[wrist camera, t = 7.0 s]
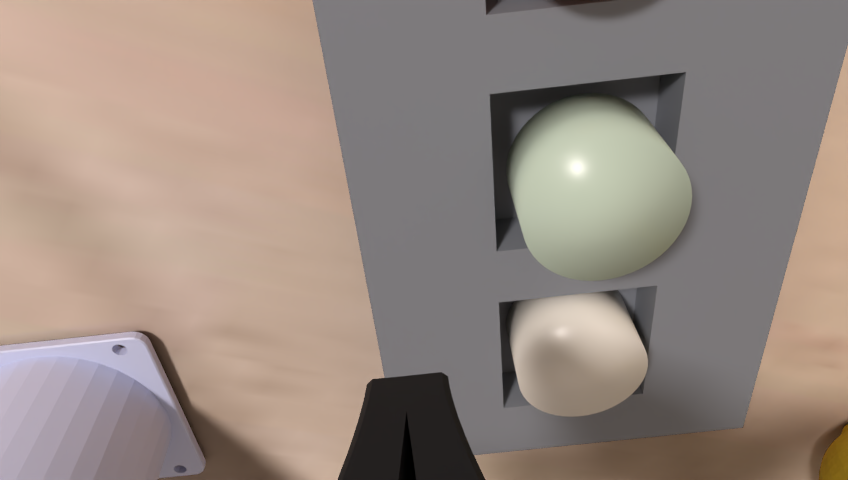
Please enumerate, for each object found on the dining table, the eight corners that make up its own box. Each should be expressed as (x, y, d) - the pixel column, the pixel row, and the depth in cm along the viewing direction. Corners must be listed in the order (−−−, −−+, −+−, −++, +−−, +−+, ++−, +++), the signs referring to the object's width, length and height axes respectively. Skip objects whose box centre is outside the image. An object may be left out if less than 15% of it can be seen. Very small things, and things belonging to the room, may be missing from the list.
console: (399, 411, 27) (400, 462, 25) (259, -369, 14) (237, -395, 12) (715, 378, 27) (742, 427, 25) (900, -450, 13) (993, -491, 11)
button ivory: (507, 367, 25) (519, 422, 23) (504, 279, 22) (517, 332, 20) (619, 355, 25) (642, 409, 23) (628, 266, 22) (654, 318, 20)
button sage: (508, 233, 20) (523, 288, 18) (504, 102, 17) (520, 148, 15) (648, 218, 20) (681, 272, 18) (664, 84, 17) (703, 127, 15)
